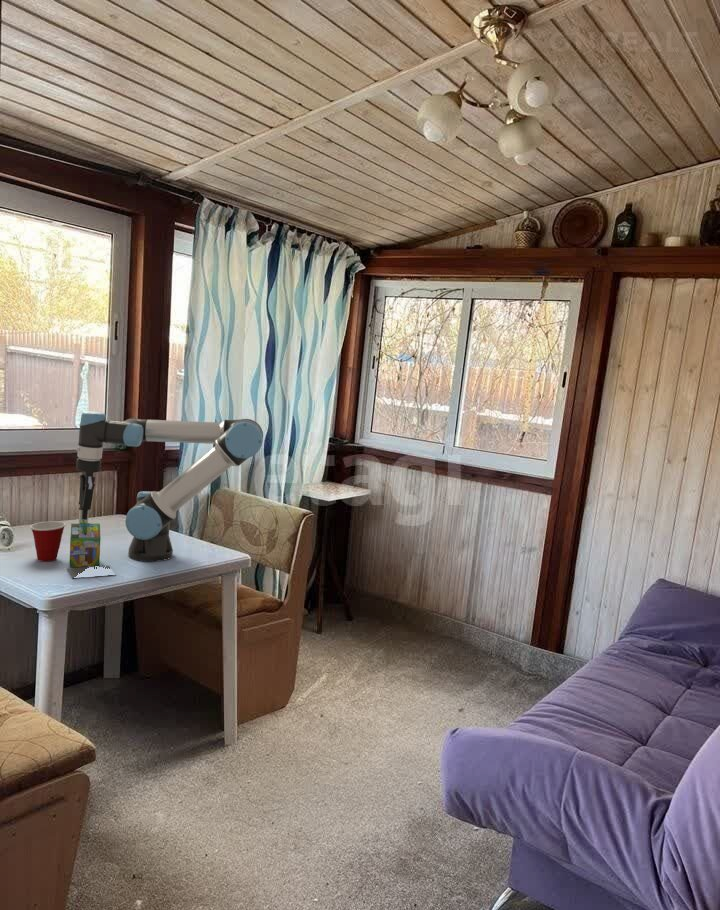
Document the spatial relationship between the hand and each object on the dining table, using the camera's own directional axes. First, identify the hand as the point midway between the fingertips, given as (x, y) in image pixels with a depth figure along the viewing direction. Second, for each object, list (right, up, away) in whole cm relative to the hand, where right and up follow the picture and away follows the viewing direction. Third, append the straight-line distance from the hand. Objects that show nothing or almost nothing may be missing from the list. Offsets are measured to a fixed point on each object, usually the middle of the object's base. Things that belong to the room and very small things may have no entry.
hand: (82, 528), depth 228 cm
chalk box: (+1, -11, 0) cm, 11 cm away
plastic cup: (-12, -11, 0) cm, 16 cm away
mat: (+6, -13, -8) cm, 17 cm away
